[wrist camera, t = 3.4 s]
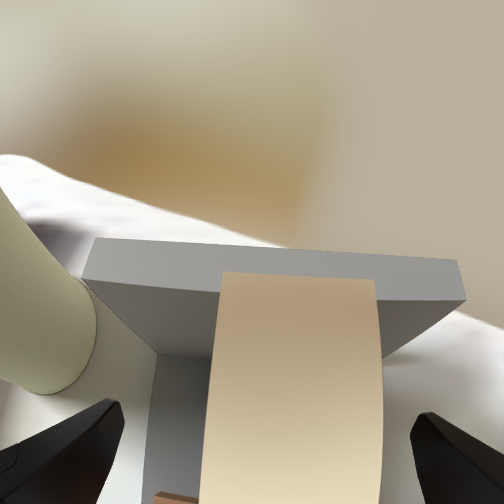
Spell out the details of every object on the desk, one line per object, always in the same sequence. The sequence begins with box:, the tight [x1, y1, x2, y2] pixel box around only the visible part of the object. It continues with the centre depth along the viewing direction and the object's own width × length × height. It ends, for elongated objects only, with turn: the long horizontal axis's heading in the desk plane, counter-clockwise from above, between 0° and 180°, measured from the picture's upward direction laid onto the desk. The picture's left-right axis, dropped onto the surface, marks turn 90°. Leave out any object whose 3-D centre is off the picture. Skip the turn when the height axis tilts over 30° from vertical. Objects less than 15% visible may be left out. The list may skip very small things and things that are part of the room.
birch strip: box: [199, 271, 383, 504], centre depth 9 cm, size 4×2×12 cm, turn 176°
